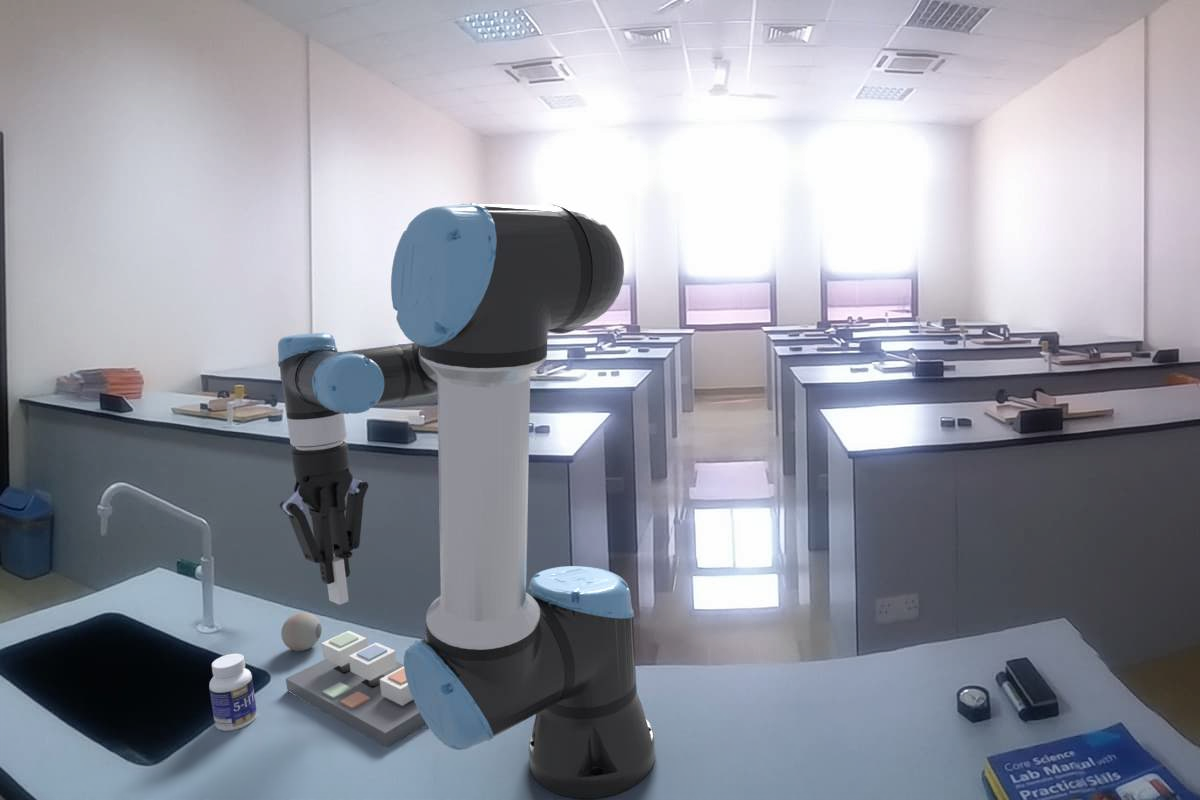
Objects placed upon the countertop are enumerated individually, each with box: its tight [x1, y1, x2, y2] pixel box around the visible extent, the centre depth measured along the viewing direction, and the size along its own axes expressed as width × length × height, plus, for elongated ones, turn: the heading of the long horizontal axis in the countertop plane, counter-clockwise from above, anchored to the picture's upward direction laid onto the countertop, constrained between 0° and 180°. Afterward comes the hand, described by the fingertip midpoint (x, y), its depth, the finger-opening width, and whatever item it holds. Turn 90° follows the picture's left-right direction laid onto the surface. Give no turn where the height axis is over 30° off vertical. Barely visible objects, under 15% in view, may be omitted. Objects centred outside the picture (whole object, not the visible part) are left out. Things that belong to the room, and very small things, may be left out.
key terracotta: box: [380, 666, 413, 706], centre depth 105 cm, size 5×5×5 cm
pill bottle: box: [208, 653, 258, 732], centre depth 105 cm, size 5×5×9 cm
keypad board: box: [285, 659, 427, 748], centre depth 109 cm, size 24×12×2 cm, turn 51°
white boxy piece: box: [349, 642, 398, 686], centre depth 109 cm, size 5×5×5 cm
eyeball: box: [280, 611, 322, 652], centre depth 124 cm, size 6×6×6 cm
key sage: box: [321, 630, 369, 672], centre depth 114 cm, size 5×5×5 cm
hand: (339, 600), depth 112 cm, fingers closed
